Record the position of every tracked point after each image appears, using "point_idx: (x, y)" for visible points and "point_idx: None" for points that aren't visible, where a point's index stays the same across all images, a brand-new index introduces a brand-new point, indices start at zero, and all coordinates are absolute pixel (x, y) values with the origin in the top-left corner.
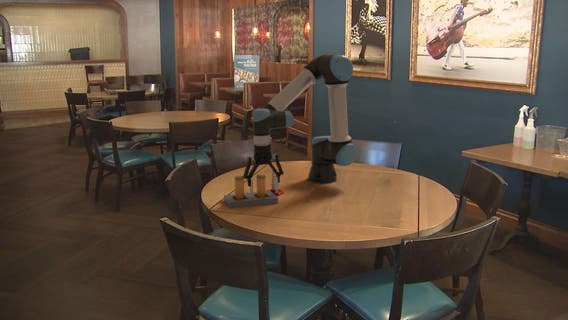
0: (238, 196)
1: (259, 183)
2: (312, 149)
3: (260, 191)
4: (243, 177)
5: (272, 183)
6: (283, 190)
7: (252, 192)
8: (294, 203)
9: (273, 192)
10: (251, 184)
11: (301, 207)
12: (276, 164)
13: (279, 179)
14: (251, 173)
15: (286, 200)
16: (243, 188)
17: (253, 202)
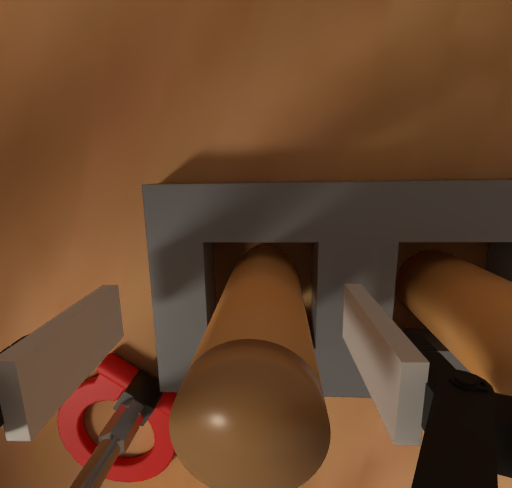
0: (492, 273)
1: (290, 316)
2: None
3: (278, 275)
4: None
5: (111, 449)
6: (60, 427)
7: (356, 288)
8: (40, 139)
9: (140, 383)
10: (395, 327)
11: (5, 17)
12: None
13: (1, 352)
14: (487, 457)
15: (84, 231)
16: (482, 308)
17: (363, 181)
